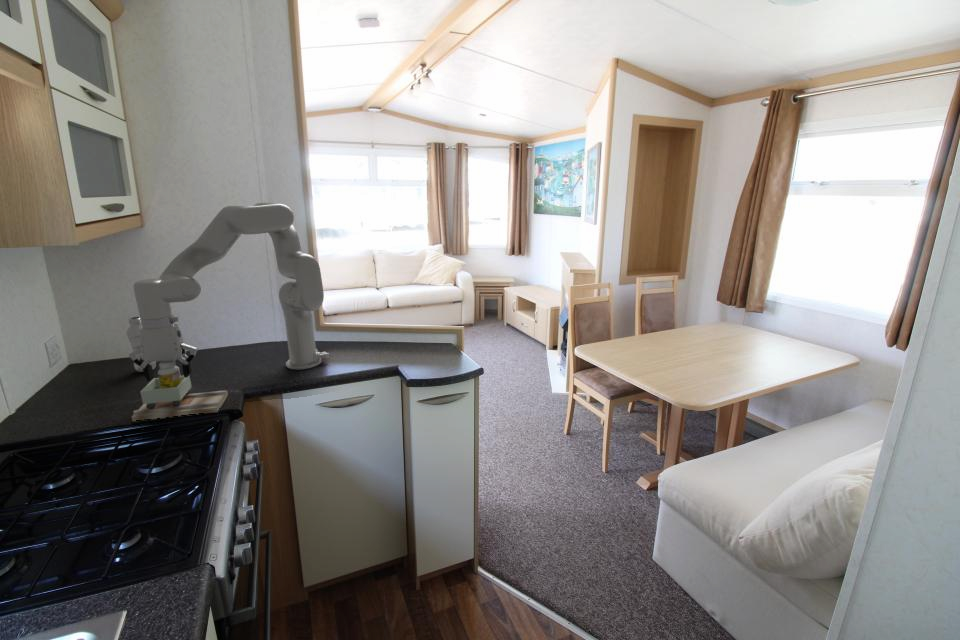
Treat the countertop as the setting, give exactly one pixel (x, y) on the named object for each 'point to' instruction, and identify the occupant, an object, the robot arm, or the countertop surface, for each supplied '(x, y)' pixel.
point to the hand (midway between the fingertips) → (169, 377)
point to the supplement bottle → (169, 374)
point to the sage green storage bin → (164, 392)
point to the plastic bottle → (136, 339)
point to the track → (184, 406)
